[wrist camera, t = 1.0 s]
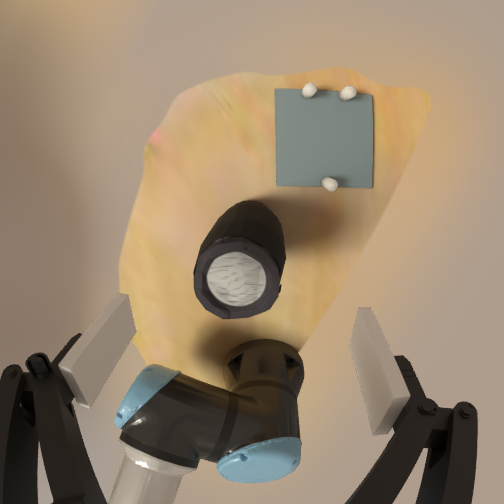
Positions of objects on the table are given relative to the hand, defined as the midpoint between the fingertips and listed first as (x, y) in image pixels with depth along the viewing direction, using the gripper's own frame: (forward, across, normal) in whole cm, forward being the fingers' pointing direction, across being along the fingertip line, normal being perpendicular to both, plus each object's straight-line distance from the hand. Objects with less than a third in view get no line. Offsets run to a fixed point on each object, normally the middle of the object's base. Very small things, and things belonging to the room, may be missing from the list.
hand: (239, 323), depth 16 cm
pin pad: (+29, -9, -10) cm, 32 cm away
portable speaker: (+29, +2, +3) cm, 29 cm away
